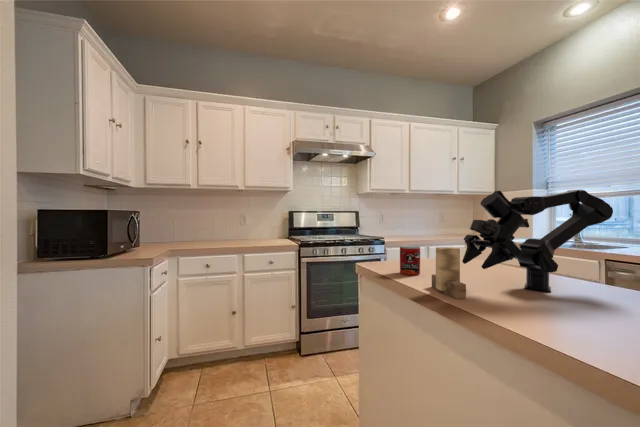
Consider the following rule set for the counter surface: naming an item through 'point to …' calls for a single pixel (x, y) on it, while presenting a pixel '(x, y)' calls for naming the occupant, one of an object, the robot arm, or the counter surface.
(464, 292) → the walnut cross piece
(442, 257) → the beige tall block
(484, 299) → the counter surface
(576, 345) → the counter surface
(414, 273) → the canned food
